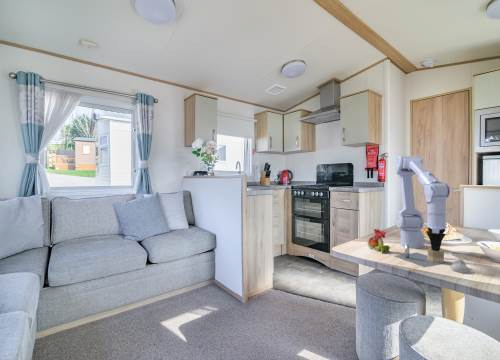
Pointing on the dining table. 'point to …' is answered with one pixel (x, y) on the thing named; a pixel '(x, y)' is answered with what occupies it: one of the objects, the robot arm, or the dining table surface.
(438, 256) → the brown wooden block
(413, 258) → the lacing board
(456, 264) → the pale two-lobed sculpture
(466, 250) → the dining table surface
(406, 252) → the steel post
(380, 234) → the bird rattle
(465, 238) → the dining table surface
